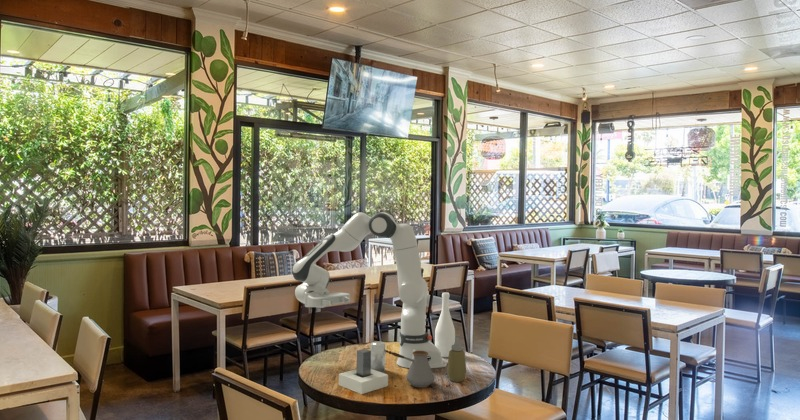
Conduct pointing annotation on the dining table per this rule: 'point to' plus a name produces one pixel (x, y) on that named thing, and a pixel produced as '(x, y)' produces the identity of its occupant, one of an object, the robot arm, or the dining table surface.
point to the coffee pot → (418, 369)
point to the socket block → (363, 381)
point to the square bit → (363, 363)
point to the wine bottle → (445, 328)
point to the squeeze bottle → (456, 362)
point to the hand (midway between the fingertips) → (339, 302)
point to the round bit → (377, 356)
